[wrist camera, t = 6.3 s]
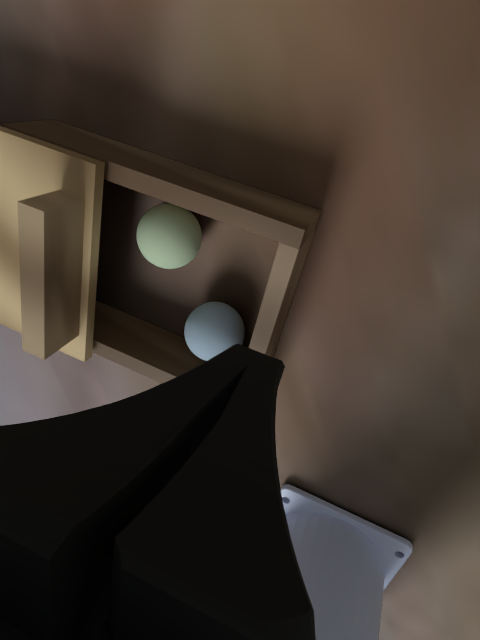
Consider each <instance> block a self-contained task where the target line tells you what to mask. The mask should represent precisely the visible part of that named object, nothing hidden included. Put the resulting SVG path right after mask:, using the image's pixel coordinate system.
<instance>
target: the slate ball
mask: <svg viewBox="0 0 480 640" xmlns="http://www.w3.org/2000/svg"><path fill="white" fill-rule="evenodd" d="M184 335H185V340H186V343H187V345H188V347H189V349H190V350H191V351H192V352H193V353H194V354H195V355H196V356H197V357H199V358H200V359H202V360H205V361H208V360H209V359H211V358H213V357H214V356H216V355H218V354H220V353H221V352H223V351H225V350H226V349H228V348H229V347H231V346H233V345H235V344H240V345H242V343H243V340H244V336H245V328H244V323H243V320H242V318H241V316H240V315H239V313H238V312H237V311H236V310H235V309H234V308H232V307H231V306H229V305H227V304H225V303H222V302H208V303H204V304H202V305H200V306H198V307H197V308H196V309H194V310H193V311H192V312H191V314H190V315H189V317H188V319H187V321H186V324H185V329H184Z"/></svg>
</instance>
